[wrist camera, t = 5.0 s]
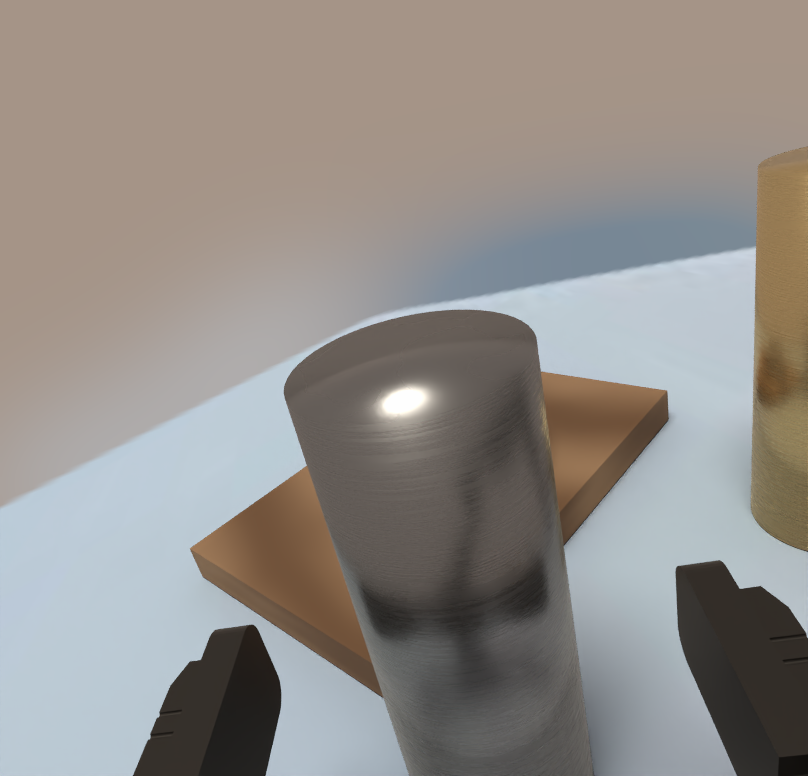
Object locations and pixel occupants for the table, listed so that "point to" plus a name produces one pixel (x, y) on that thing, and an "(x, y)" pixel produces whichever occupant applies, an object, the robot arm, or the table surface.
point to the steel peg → (450, 537)
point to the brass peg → (781, 350)
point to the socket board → (314, 552)
